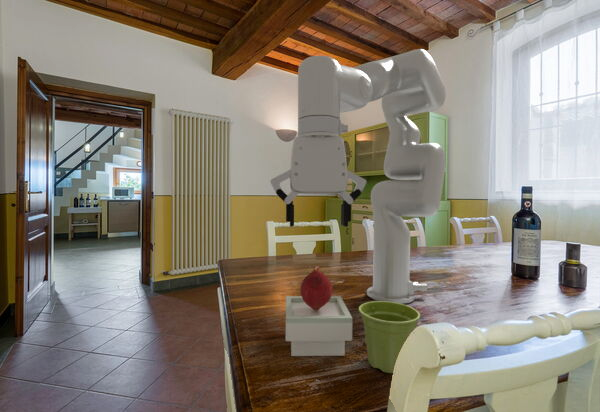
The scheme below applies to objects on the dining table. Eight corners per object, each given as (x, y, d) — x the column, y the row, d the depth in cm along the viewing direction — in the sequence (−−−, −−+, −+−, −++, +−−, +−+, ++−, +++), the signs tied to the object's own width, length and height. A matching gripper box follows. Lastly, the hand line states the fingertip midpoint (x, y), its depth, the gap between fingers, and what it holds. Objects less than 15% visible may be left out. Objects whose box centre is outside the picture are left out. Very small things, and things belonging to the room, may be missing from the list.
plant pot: (351, 349, 53) (352, 300, 53) (403, 348, 54) (404, 299, 53) (368, 382, 43) (369, 322, 43) (430, 379, 44) (431, 321, 44)
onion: (330, 318, 52) (331, 271, 51) (297, 314, 53) (298, 269, 52) (333, 305, 57) (334, 264, 57) (303, 303, 58) (304, 262, 58)
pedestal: (340, 329, 61) (340, 296, 61) (351, 358, 50) (352, 318, 50) (285, 329, 60) (286, 296, 60) (285, 359, 49) (285, 318, 49)
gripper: (361, 135, 58) (360, 223, 59) (271, 134, 57) (271, 223, 58) (372, 127, 51) (370, 228, 51) (269, 125, 50) (269, 228, 51)
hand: (318, 225), depth 55 cm, fingers open, 9 cm apart
